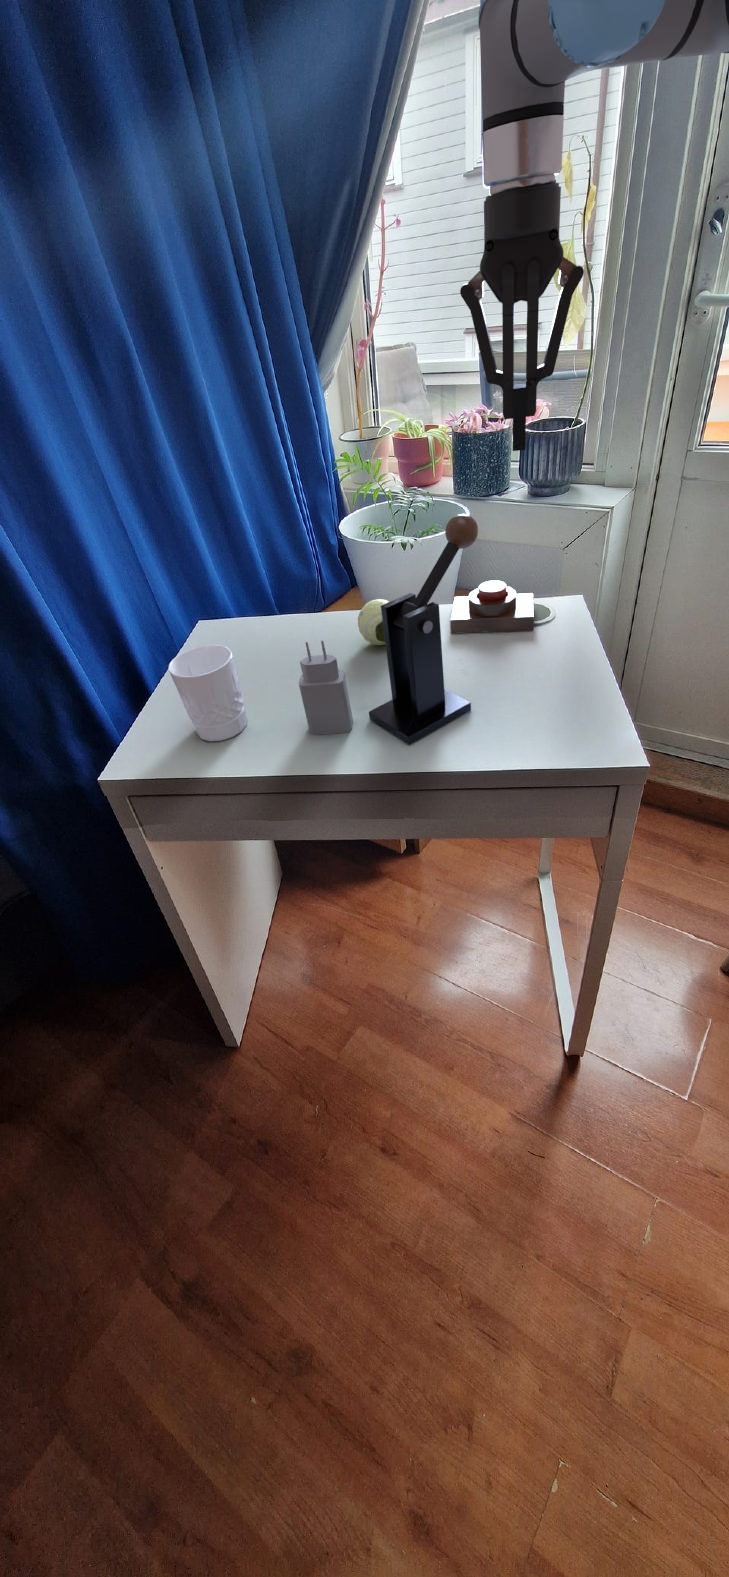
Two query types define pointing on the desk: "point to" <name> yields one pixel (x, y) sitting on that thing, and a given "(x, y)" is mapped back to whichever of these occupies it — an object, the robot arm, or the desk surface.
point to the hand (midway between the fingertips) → (519, 447)
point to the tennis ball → (372, 622)
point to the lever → (442, 561)
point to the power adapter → (325, 695)
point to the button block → (493, 613)
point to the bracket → (415, 674)
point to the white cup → (210, 691)
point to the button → (492, 591)
